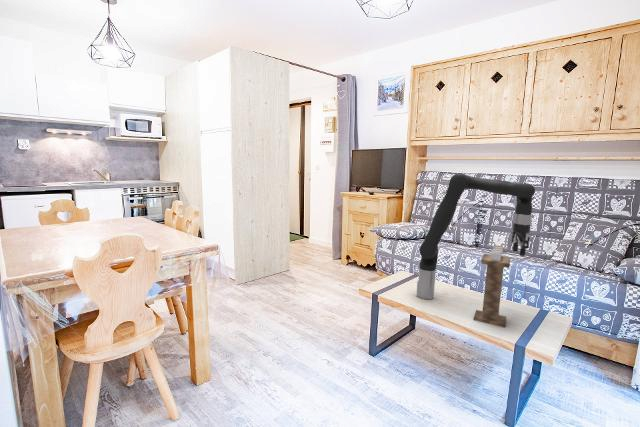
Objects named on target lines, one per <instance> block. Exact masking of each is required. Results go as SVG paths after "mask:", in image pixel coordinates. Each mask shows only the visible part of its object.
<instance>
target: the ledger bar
mask: <svg viewBox="0 0 640 427" xmlns="http://www.w3.org/2000/svg"><path fill="white" fill-rule="evenodd" d="M503 251H504V246H503V245H497V244H496V245H495V244H494V245H493V248H492V251H491V254H490V255H491V260H492V261H499V262H500V261H501V256H503Z"/></svg>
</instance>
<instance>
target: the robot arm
mask: <svg viewBox="0 0 640 427" xmlns="http://www.w3.org/2000/svg"><path fill="white" fill-rule="evenodd" d="M465 190H478V191H482V192H485V193H486V192H487V193H492V194H497V195H504V196H513V197H516V205H515V214H514V218H513V224H512V235H511V243H512V244H513V245H512V251H513V252H518V250H519V256H520V257H525V256H526V250H527V249H529V247H530V236H527V234H529V233H530V231H531V226H532V211H533V204H532V200H533V196H534V195H535V193H536V189H535V186H533V185H532V184H530V183H525V182H524V183H523V182H522V183H520V182H512V181H509V180H500V179H492V178H491V179H488V178H481V177H475V176H471V175H467V174H465V173H463V172H462V173H461V172H458V173H457V172H456V173H455V174H454V175H452V176H451V177H450V179H449V183H448V186H447V190H446V193H445V194H444V197H443V198H442V200H441V201H440V203H439V205H438V207H437V209H436V212H435V213H434V216H433V218H432V221H431V223H430V226H429V230H428V233H427V234H426V236H425V238H424V240H423V242H422V243H421V245H420V247H419V254H420V257H421V258H420V261H419V265H418V266H419V269H418V280H417V282H416V295H415V296H416V297H418V298H419V299H422V300H433V299H434V297H435V285H436V275H437V274H436V272H437V265H438V258H439V256H438V255H439V247H438V245H439V243H440V241H441V238H442V237H443V236H444V234H445V232H446V231H447V230H448V228H449V226H450V225H451V223H452V220H453V218H454V215H455V212H456V210H457V206H458V203H459V201H460V198H461V196H462V195H463V193H464V192H465ZM519 246H520V248H519Z"/></svg>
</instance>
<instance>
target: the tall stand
mask: <svg viewBox="0 0 640 427" xmlns="http://www.w3.org/2000/svg"><path fill="white" fill-rule="evenodd" d="M511 260H512V259H511V257H509V256H504V255H502V256H501V261H500V262H499V261H492V260H491V254H488V253H483V255H482V257H481V261H480V263H481V265H486V271H485V272H486V274H485V283H484V292H483V293H484V294H483V302H482V310H478V309H476V310H475V311H474V312H475V313H474V316H473V321H476V322H481V323H486V324H490V325H494V326H498V327H501V328H506V326H507V325H506V323H507V316H506V315H500V306H501V305H500V304H501V295H502V285H503V276H504V268H506V269H510V267H511V266H510V265H511Z"/></svg>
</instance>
